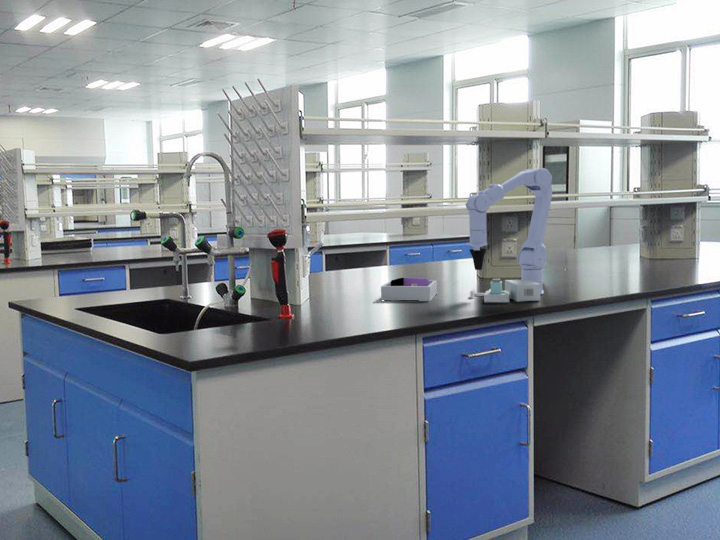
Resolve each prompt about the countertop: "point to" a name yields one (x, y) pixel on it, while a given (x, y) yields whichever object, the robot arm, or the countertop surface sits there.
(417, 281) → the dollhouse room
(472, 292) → the holster
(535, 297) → the skincare box
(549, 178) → the robot arm
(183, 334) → the countertop surface
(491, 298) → the port
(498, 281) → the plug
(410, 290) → the holder corral
